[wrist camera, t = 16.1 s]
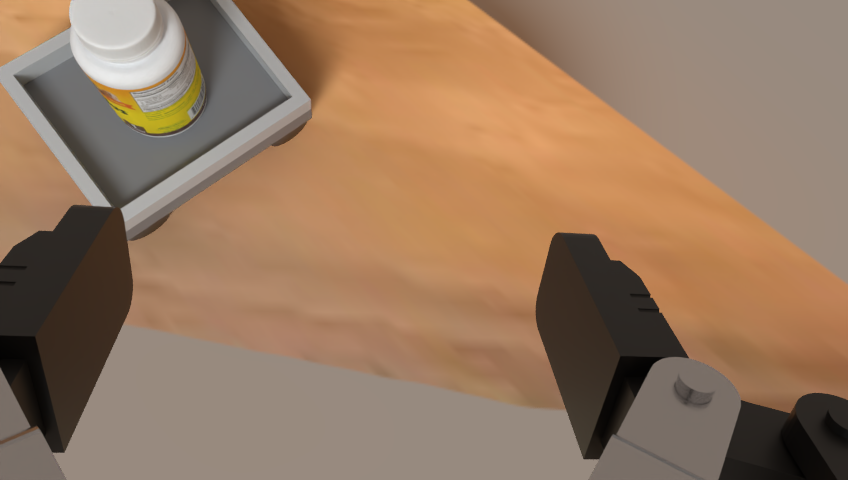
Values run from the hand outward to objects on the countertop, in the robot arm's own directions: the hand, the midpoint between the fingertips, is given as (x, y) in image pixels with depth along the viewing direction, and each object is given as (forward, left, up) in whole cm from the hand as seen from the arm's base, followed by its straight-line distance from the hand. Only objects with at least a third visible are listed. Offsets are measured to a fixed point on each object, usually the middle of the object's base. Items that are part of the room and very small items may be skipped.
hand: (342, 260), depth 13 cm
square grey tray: (+1, +19, -33) cm, 38 cm away
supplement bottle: (+1, +19, -28) cm, 34 cm away
